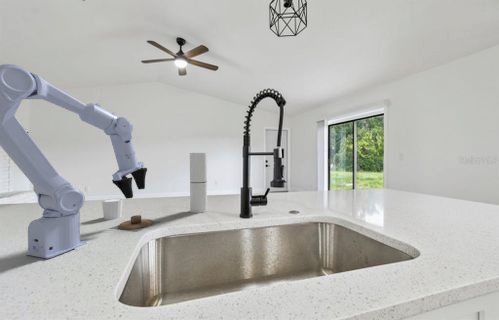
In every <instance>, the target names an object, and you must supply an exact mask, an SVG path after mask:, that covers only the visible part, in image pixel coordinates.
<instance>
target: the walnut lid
mask: <svg viewBox="0 0 499 320" xmlns="http://www.w3.org/2000/svg"><path fill="white" fill-rule="evenodd" d="M152 221H153V220H152V219H149V218H142V215H140V214H139V215H137V214H136V215H132V216H131V217H130V220H126V221H123V222H121V223H119V224H118V225H119V228H120V229H125V230H132V229H139V228H144V227H147V226H149V225H151V224H152ZM149 227H150V226H149ZM147 228H148V227H147ZM144 229H145V228H144ZM125 230H124V231H125Z"/></svg>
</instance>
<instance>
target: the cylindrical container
mask: <svg viewBox="0 0 499 320" xmlns="http://www.w3.org/2000/svg"><path fill="white" fill-rule="evenodd" d="M207 158H208V155H207V152H189V207H190V208H189V212H190V213H197V214H202V212H204V213H207V212H208V162H207V161H208V159H207ZM206 211H207V212H206Z"/></svg>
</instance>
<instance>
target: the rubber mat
mask: <svg viewBox="0 0 499 320" xmlns="http://www.w3.org/2000/svg"><path fill="white" fill-rule="evenodd" d="M159 223H161V221H158V220H152V224H151V225H149V226H147V227H144V228H139V229H132V230H125V229H120V228H119V224H118V225H115V226H112V227H109V229H110V230H111V229H112V230H116V231H117V230H118V231H124V232H125V231H126V232H136V233H137V232H139V231H142V230H144V229H147V228H149V227H151V226H154V225H156V224H159Z"/></svg>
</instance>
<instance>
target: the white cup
mask: <svg viewBox="0 0 499 320" xmlns="http://www.w3.org/2000/svg"><path fill="white" fill-rule="evenodd" d="M123 201H124V199H123V198H111V199H110V198H109V199H105V200H102V201H101V205H102V213H103V219H104V220H107V221H108V220H116V219H120V218H122V215H123V214H122V213H123V203H124V202H123Z"/></svg>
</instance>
